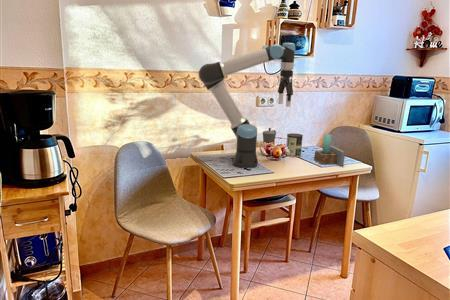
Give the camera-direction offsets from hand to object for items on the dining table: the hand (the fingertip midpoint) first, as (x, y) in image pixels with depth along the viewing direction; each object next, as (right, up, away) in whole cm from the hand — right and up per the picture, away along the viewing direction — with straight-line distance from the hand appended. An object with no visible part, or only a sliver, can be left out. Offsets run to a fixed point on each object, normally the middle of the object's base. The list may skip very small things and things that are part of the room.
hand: (284, 105), depth 205 cm
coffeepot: (-7, -30, +21) cm, 38 cm away
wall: (+33, -35, +8) cm, 49 cm away
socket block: (+27, -35, +7) cm, 45 cm away
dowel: (+27, -34, +6) cm, 44 cm away
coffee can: (+10, -31, +20) cm, 39 cm away
